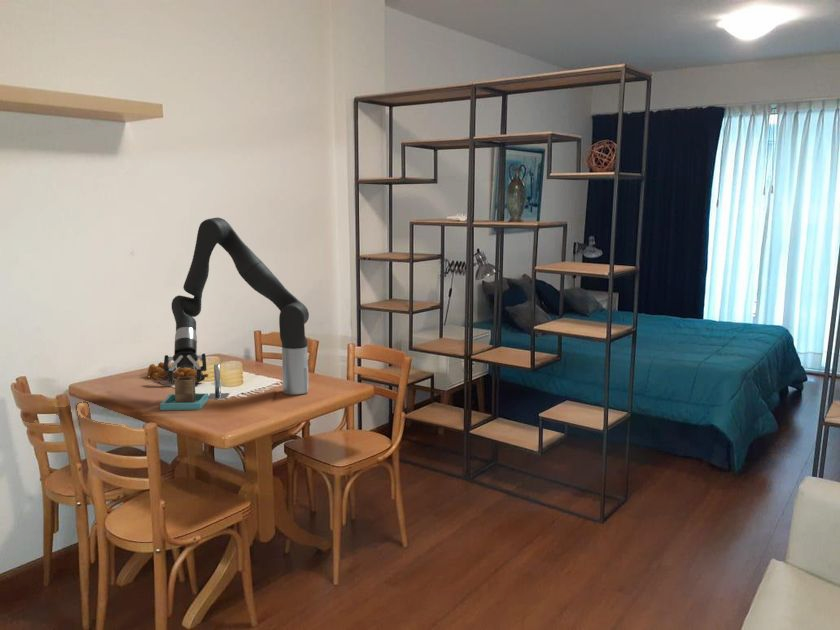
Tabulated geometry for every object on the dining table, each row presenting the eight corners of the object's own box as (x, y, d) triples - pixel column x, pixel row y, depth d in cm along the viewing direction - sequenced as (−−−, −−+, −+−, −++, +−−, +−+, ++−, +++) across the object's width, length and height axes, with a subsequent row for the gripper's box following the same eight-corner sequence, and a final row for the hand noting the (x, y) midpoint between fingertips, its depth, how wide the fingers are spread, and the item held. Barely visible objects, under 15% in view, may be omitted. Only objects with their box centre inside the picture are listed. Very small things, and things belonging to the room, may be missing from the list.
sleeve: (195, 401, 228) (194, 376, 226) (192, 406, 222) (191, 380, 221) (178, 402, 227) (177, 376, 225) (175, 406, 221) (174, 381, 220)
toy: (133, 383, 258) (180, 392, 241) (132, 366, 257) (179, 374, 240) (177, 373, 274) (224, 381, 257) (176, 357, 273) (223, 364, 256)
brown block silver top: (229, 394, 239) (228, 362, 237) (226, 399, 232) (224, 367, 230) (210, 394, 238) (209, 362, 236) (205, 400, 231) (204, 367, 230)
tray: (208, 400, 231) (208, 393, 231) (200, 410, 219) (200, 403, 219) (170, 401, 230) (170, 394, 229) (160, 411, 218) (160, 403, 218)
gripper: (163, 337, 231) (161, 376, 222) (205, 336, 235) (205, 374, 226) (165, 349, 237) (164, 387, 228) (206, 347, 241) (206, 385, 232)
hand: (184, 381), depth 227 cm, fingers open, 8 cm apart
